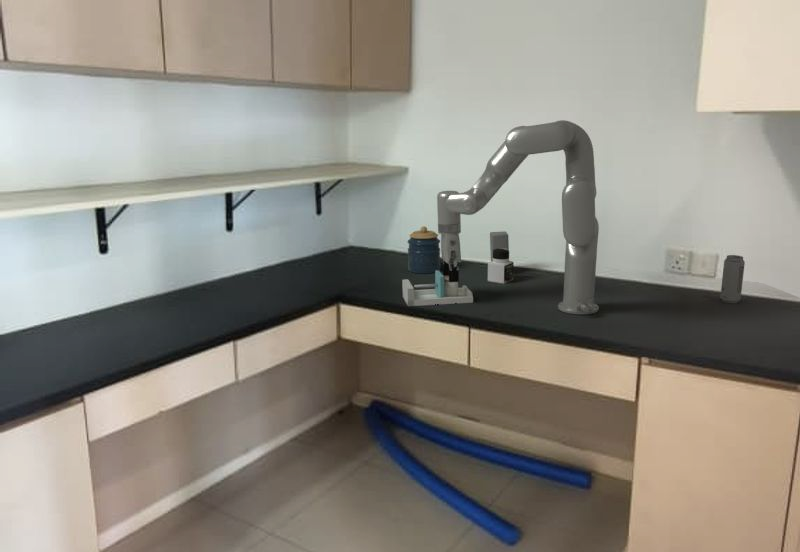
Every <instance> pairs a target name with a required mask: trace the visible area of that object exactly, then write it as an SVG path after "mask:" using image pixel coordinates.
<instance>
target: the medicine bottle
mask: <svg viewBox="0 0 800 552" xmlns="http://www.w3.org/2000/svg"><path fill="white" fill-rule="evenodd" d="M493 260H494V261H491V260H490V261H489V262H487V282H491V283H497V284H507V283H509V282H511V281H514V261H513V260H510V249H509V250H507V249H504V248H497V249H494V250H493ZM508 260H509V261H508Z"/></svg>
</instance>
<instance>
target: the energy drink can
mask: <svg viewBox="0 0 800 552" xmlns="http://www.w3.org/2000/svg"><path fill="white" fill-rule="evenodd" d="M744 272H745V260H744V256H743V255H742V256H741V255H738V254H737V255H736V254H730V255H729V254H728V255H726V258H725V259H724V260H723V270H722V277H721V278H722V279H721V288H720V297H719V298H720V299H721V301H722V302H723V303H728V304H738V303H739V301H740V300H741V299H742V298H741V297H742V291H743V281H744Z"/></svg>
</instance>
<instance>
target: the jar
mask: <svg viewBox="0 0 800 552" xmlns="http://www.w3.org/2000/svg"><path fill="white" fill-rule="evenodd" d="M443 276H444V275H443ZM458 288H459V281H458V282H449V275H445V276H444V298H445V297H458Z"/></svg>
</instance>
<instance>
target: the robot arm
mask: <svg viewBox="0 0 800 552" xmlns="http://www.w3.org/2000/svg"><path fill="white" fill-rule="evenodd" d="M562 150H563V152H564V156H565V174H566V175H565V176H566V178H565V179H566V181H565V186H564V187H563V190H562V192H561V193H562V194H561V214H562V232H563V237H564V239H565V255H564V256H565V257H564V272H563V273H564V274H563V276H564V277H563V298H562V300H563V301H560V302H559V303H558V305H557V309H558V310H560V311H561V312H563V313H565V314H570V315H592V314H595V313H598V312H599V311H600V310H599V305H598V304H597V303H595V287H596V268H597V254H598V241H599V233H600V232H599V231H600V229H599V228H600V226H599V221H598V219H597V217H596V197H597V186H596V172H595V171H596V170H595V168H596V167H595V157H594V156H595V155H594V153H595V152H594V146H593V144H592V140H591V138H590V136H589V134H588V133H587V132H586V130H585V129H584V128H582V127H581V126H580V125H578V124H577V123H574V122H572V121H569V120H566V119H565V120H563V119H562V120H561V119H560V120H556V121H553V122H546V123H541V124H539V123H538V124H534V125H520V126H516V127H514V128H511V129H510V130H509V132H507V134H506V137H505V141H503V143H502V144H501V145H500V146H499V147H498V148H497V150H496V152H494V153H493V155H492V156H491V157H490V159H489V160H488V162H487V163H486V166H485V169H484V171H483V173H482V174H481V175H480V177H479V178H478V180H477V181H476V182H475V183H474V184H473V186H472V187H471V188H470V189H469V190H467V191H464V192H458V191H457V190H445V191H444V190H441V191H439V192H438V194H437V195H436V199H437V201H436V205H437V207H436V209H437V234H438V235H440V255H441V258H442V275H443V276H447V275H449V282H458V283H459V281H460V276H459V274H460V273H459V271H460V270H459V264H460V263H461V262H462V254H461V253H462V252H461V242H460V241H461V239H460V234H461V233H462V232H461V231H462V230H461V229H462V228H461V227H462V225H461V223H462V222H461V215H466V216H467V215H468V216H471V215H475V214H477V213H478V212H480V211H481V210H482V209H484V208H485V207H486V205H487V204H489V202H490V201H492V198H493V197H494V196H495V195H496V194H497V193H498V192H499V190H500V189H501V188H502V186H503V185H504V184H505V183H506V182H507V181H508V180H509V178H511V176H512V175H513V174H514V173H515V172H516V170H517V169H518V168H519V167H520V166H521V164H522V163H523V162H524V161H525V159H527V158H528V157H529V155H537V154H544V153H551V152H552V153H554V152H559V151H562Z"/></svg>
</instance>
